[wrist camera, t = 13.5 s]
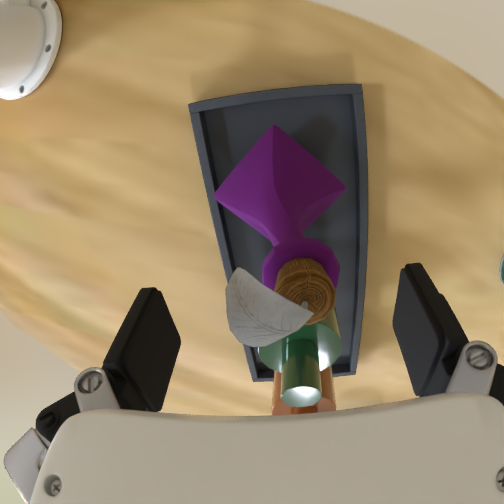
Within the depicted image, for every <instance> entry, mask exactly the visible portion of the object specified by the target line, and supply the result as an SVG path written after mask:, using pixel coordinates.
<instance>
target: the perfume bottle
mask: <svg viewBox="0 0 504 504" xmlns="http://www.w3.org/2000/svg"><path fill="white" fill-rule="evenodd" d="M345 190H346V186H345V185H344V184H343V183H342V182H341V181H340V180H339V179H338V178H337V177H336V176H335V175H333V174H332V173H331V172H330V171H329V170H328V169H327V168H326V167H325V166H324V165H322V164H321V163H320V162H319V161H318V160H317V159H316V158H315V157H313V156H312V155H311V154H310V153H309V152H308V151H307V150H305V149H304V148H303V147H302V146H301V145H300V144H298V143H297V142H296V141H295V140H294V139H292V138H291V137H290V136H289V135H288V134H286V133H285V132H284V131H283V130H282V129H280V128H279V127H278V126H277V125H274V124H273V125H271V126H270V127H269V128H268V130H267V131H266V132H265V133H264V134H263V135H262V137H261V138H260V139H259V140H258V141H257V142H256V143H255V145H254V146H253V147H252V148H251V149H250V151H249V152H248V153H247V154H246V155H245V156H244V158H243V159H242V160H241V161H240V162H239V164H238V165H237V166H236V167H235V168H234V170H233V171H232V172H231V173H230V175H229V176H228V177H227V178H226V179H225V181H224V182H223V183H222V184H221V186H220V187H219V188H218V189H217V191H216V192H215V193H214V195H213V197H214V198H215V200H217V201H218V202H219V203H221V204H222V205H223V206H225V207H226V208H227V209H229V210H230V211H231V212H233V213H234V214H235V215H237V216H238V217H239V218H241V219H242V220H243V221H245V222H246V223H247V224H249V225H250V226H251V227H253V228H254V229H255V230H257V231H258V232H259V233H261V234H262V235H263V236H265V237H266V238H267V239H268V240H270V241H271V242H272V244H273V246H274V247H273V248H272V250H271V251H270V253H269V254H268V255H267V257H266V258H265V260H264V261H263V263H262V283H263V284H262V283H260V282H259V281H258V280H257V279H256V278H254V277H253V276H252V275H251V274H250V273H248V272H247V271H246V270H244V269H242V268H240V267H239V268H237V269H236V270H235V272H234V273H233V274H232V276H231V278H230V280H229V283H228V285H227V287H226V307H227V318H228V322H229V327H230V330H231V332H232V333H233V334H234V336H235V337H236V338H237V340H238V341H239V342H240V343H243V344H245V345H248V346H251V347H261V346H267V345H269V344H271V343H273V342H275V341H277V340H279V339H281V338H284V337H285V336H287V335H289V334H291V333H293V332H295V331H297V330H299V329H300V328H301V327H302V326H303V325H311V324H313V323H316V322H318V321H320V320H323V319H325V318H326V317H327V315H328V314H329V313H330V312H331V311H332V309H333V308H334V307H335V300H336V293H337V292H336V290H335V289H336V287H337V285H338V279H339V273H340V264H339V262H338V260H337V258H336V256H335V254H334V252H333V250H332V248H330V247H329V246H327V245H325V244H324V243H322V242H320V241H318V240H317V239H315V238H305V236H304V231H305V230H306V229H307V228H308V227H309V226H311V225H312V224H313V223H314V222H315V221H316V220H317V219H318V218H319V217H320V216H321V215H322V214H323V213H324V212H325V211H326V210H327V209H328V208H329V207H330V206H331V205H332V204H333V203H334V202H335V201H336V200H337V199H338V198H339V197H340V196H341V195H342V194H343V193H344V192H345Z"/></svg>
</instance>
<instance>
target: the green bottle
mask: <svg viewBox="0 0 504 504" xmlns="http://www.w3.org/2000/svg"><path fill="white" fill-rule="evenodd" d="M341 349H342V342H341V336H340V330H339V325H338V319H337V313H336V308H335V307H334V308H333V309H332V311H331V312H330V313H329V314H328V315H327V317H326V318H325V319H323V320H320V321H318V322H316V323H313V324H311V325H303V326H302V327H301V328H300V329H299V330H297V331H295V332H293V333H291V334H289V335H287V336H285V337H284V338H281V339H279V340H277V341H275V342H273V343H271V344H269V345H267V346H261V347H258V353H259V356H260V358H261V360H262V361H263V363H264V364H265V365H266V366H268V367H269V368H270V369H272V370H274V371H276V372H279V373H281V400H282V401H283V403H285V404H286V405H289V406H292V407H307V406H311V405H314V404H316V403H317V402H318V401H320V399H321V397H322V388H321V375H320V371H322V370H324V369H326V368H328V367H329V366H330V365H332V364H333V363H334V362H335V361H336V360H337V358H338V357H339V355H340V353H341Z"/></svg>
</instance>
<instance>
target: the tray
mask: <svg viewBox="0 0 504 504" xmlns="http://www.w3.org/2000/svg"><path fill="white" fill-rule="evenodd" d="M188 107H189V112H190V113H191V114H190V116H191V121H192V126H193V131H194V136H195V141H196V146H197V151H198V155H199V160H200V165H201V169H202V174H203V179H204V183H205V188H206V192H207V197H208V201H209V206H210V210H211V215H212V219H213V224H214V228H215V232H216V237H217V241H218V245H219V249H220V254H221V258H222V262H223V266H224V270H225V275H226V279H227V283H229V280H230V278H231V276H232V274H233V273H234V272H235V270H236V269H237V268H239V267H240V268H242V269H244V270H246V271H247V272H248V273H250V274H251V275H252V276H253V277H254V278H256V279H257V280H258V281H259V282H260V283H262V263H263V261H264V260H265V258H266V257H267V255H268V254H269V253H270V251H271V250H272V248H273V247H274V246H273V244H272V242H271V241H270V240H268V239H267V238H266V237H265V236H263V235H262V234H261V233H259V232H258V231H257V230H255V229H254V228H253V227H251V226H250V225H249V224H247V223H246V222H245V221H243V220H242V219H241V218H239V217H238V216H237V215H235V214H234V213H233V212H231V211H230V210H229V209H227V208H226V207H225V206H223V205H222V204H221V203H219V202H218V201H217V200H215V198H214V197H213V195H214V193H215V192H216V191H217V189H218V188H219V187H220V186H221V184H222V183H223V182H224V181H225V179H226V178H227V177H228V176H229V175H230V173H231V172H232V171H233V170H234V168H235V167H236V166H237V165H238V164H239V162H240V161H241V160H242V159H243V158H244V156H245V155H246V154H247V153H248V152H249V151H250V149H251V148H252V147H253V146H254V145H255V143H256V142H257V141H258V140H259V139H260V138H261V137H262V135H263V134H264V133H265V132H266V131H267V130H268V128H269V127H270V126H271V125H273V124H274V125H277V126H278V127H279V128H280V129H282V130H283V131H284V132H285V133H286V134H288V135H289V136H290V137H291V138H292V139H294V140H295V141H296V142H297V143H298V144H300V145H301V146H302V147H303V148H304V149H305V150H307V151H308V152H309V153H310V154H311V155H312V156H313V157H315V158H316V159H317V160H318V161H319V162H320V163H321V164H322V165H324V166H325V167H326V168H327V169H328V170H329V171H330V172H331V173H332V174H333V175H335V176H336V177H337V178H338V179H339V180H340V181H341V182H342V183H343V184H344V185H345V186H346V190H345V192H344V193H343V194H342V195H341V196H340V197H339V198H338V199H337V200H336V201H335V202H334V203H333V204H332V205H331V206H330V207H329V208H328V209H327V210H326V211H325V212H324V213H323V214H322V215H321V216H320V217H319V218H318V219H317V220H316V221H315V222H314V223H313V224H312V225H311V226H309V227H308V228H307V229H306V230H305V231H304V236H305V238H315V239H317V240H318V241H320V242H322V243H324V244H325V245H327V246H329V247H330V248H332V250H333V252H334V254H335V256H336V258H337V260H338V262H339V264H340V273H339V279H338V285H337V287H336V289H335V290H336V292H337V293H336V300H335V308H336V313H337V319H338V325H339V330H340V336H341V342H342V349H341V353H340V355H339V357H338V358H337V360H336V361H335V362H334V363H333V364H332V371H333V377H338V376H348V375H355V374H356V368H357V361H358V354H359V346H360V338H361V329H362V319H363V309H364V297H365V284H366V268H367V247H368V162H367V141H366V126H365V113H364V102H363V91H362V84H335V85H317V86H303V87H292V88H282V89H273V90H265V91H258V92H251V93H244V94H238V95H232V96H226V97H220V98H215V99H210V100H205V101H200V102H195V103H191V104H188ZM262 284H263V283H262ZM243 346H244V350H245V354H246V358H247V361H248V365H249V369H250V373H251V376H252V380H253V382H264V381H273V378H274V370H272V369H270V368H269V367H268V366H266V365H265V364H264V363H263V361H262V360H261V358H260V356H259V353H258V347H251V346H248V345H245V344H243Z"/></svg>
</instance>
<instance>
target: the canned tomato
mask: <svg viewBox="0 0 504 504" xmlns="http://www.w3.org/2000/svg"><path fill="white" fill-rule="evenodd" d="M499 275H500V279H501V281H502V283H503V284H504V256H503V258H502V261H501V264H500V269H499Z"/></svg>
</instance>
